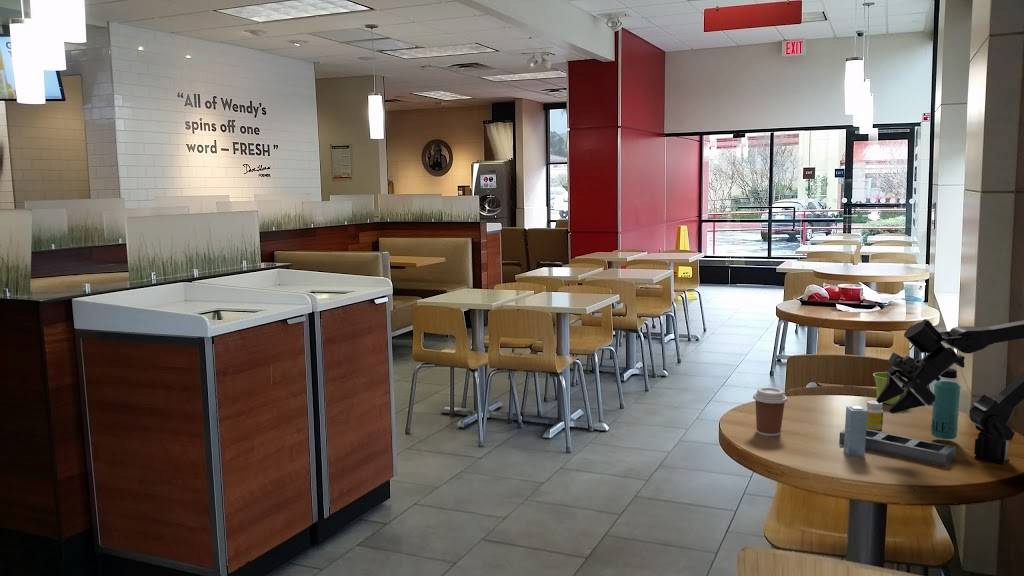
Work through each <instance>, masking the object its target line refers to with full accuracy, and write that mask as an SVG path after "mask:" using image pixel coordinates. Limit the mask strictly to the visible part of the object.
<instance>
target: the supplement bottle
mask: <svg viewBox="0 0 1024 576" xmlns="http://www.w3.org/2000/svg"><path fill="white" fill-rule="evenodd" d="M865 409H866V410H867V411H868V412H867V428H866V429H869V430H874V431H879V432H883V425H884V424H883V423H884V410H883V403H880V404H879V403H878V402H877V401H876V400H868V401H866V407H865Z"/></svg>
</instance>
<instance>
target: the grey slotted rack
mask: <svg viewBox="0 0 1024 576" xmlns="http://www.w3.org/2000/svg"><path fill="white" fill-rule="evenodd" d="M844 436H845V429H843V430H841V431H840V432H839V439H838V440H839V441H838V443H839V444H841V445H844ZM865 450H869V451H872V452H873V451H874V452H878V453H881V454H882V453H883V454H886V453H887V455H891V454H892V456H896V455H897V457H901V458H906V459H910V460H915V461H919V462H924V463H928V462H929V463H928V464H932V463H934V464H933V465H937V464H938V465H937V466H942V465H943V466H942V467H947V466H948V465H949V464H950V463H951V462H952V461H954V460H955V457H956V446H954V445H953V446H952V445H947V444H943V443H937V442H933V441H929V440H928V441H927V440H924V439H919V438H914V437H908V436H902V435H899V434H893V433H887V432H885V431H884V432H883V431H882V432H879V431H874V430H869V429H866V443H865ZM946 465H947V466H946Z"/></svg>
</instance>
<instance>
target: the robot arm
mask: <svg viewBox="0 0 1024 576" xmlns="http://www.w3.org/2000/svg"><path fill="white" fill-rule="evenodd" d="M903 336H904V338H905V339H907V341H908V342H909V343H910V344H911V345H912V347H914V348H915V349H916V350H917V351H918V352H919V353H920V354H924V353H926V355H925V356H924V357H922V358H921V359H920V358H914V357H911V356H909V355H905V356H902V355H901V354H898V353H896V352H892V353H891V355H890V357H889V359H888V360H887V362H886V363H887V364H888V365H890V367H889V368H888V369H886V371H885V372H886V373H888V374H889V375H888V374H886V376H887V383H886V385H885V387H884V389H883V390H882V392H881V394H880V395H879V397H878V398H877V397H876V400H875V401H877V402H878V403H879V404H880V403H882V402H885V401H887V400H889V399H892V398H894V397H896V396H898V395H900V397H899V399H898V401H897V402H896V403H895V404H892V406H891V407H890V408H889V410H888V412H890V414H892V415H893V414H896V413H900V412H904V411H907V410H911V409H915V408H919V407H925V406H929V407H930V406H931V405H932V404H933V402H934V401H935V395H934V392H932V390H931V389H929V387H928V386H930V385H931V384H932V383H933V382H934V381H936V382H937V381H939V380H942V377H940V375H941V374H943V373H944V372H945V371H946V370H947V369H949V368H952V366H954V365H957V366H958V367H960V368H961V369H963V368H965V359H966V357H965V356H964V355H962V354H958V353H956V351H954V350H957V351H958V352H961V353H963V354H973V353H976V352H980V351H981V350H984V349H986V348H987V347H989V346H991V345H993V344H998V343H1004V342H1009V341H1016V340H1021V339H1024V319H1023V320H1018V321H1011V322H1006V323H1000V324H996V325H990V326H969V325H968V326H955V327H952V328H951V329H950V330H947V331H938V330H937V329H936V328H935V326H934V325H933V323H932V322H931V321H930V320H929V319H925V318H924V319H923V320H921V321H920V322H916V323H915V324H913V325H910V326H909V327H908V328H907V329H906V330H905V332H904V334H903ZM944 344H946V345H948V346H947V347H945V345H944ZM901 387H902V388H901ZM1023 401H1024V371H1023V372H1022V373H1021V374H1019V375H1018V376H1017V377H1015V379H1014V380H1013V381H1011V382H1010V383H1009V384H1008V385H1007V386H1006V387H1005V388H1003V389H1002V390H1001V391H1000V392H998V393H997V394H995V395H991V396H989V395H987V394H983V395H981V397H980V398H979V399H978V400H976V401H975V402H973V403H971V405H972V407H971V408H970V409H969V419H970V421H971V422H972V423H973V424H974V426H975V430H977V431H979V433H978V434H977V435H978V436H977V437H976V438H975V439H974V452H973V454H974V457H973V458H974V459H976V460H980V461H986V462H990V463H996V464H1000V465H1004V464H1005V463H1006V462H1007V461H1008V460H1009V457H1010V456H1009V455H1008V454H1009V453H1008V451H1009V442H1010V441H1012V440H1013V438H1014V436H1015V432H1014V430H1013V429H1011V427H1010V426H1009V425H1008V422H1009V421H1011V417H1012V415H1013V412H1014V410H1015V408H1016V407H1018V406H1019V405H1020V404H1021V403H1022V402H1023ZM882 404H883V403H882Z"/></svg>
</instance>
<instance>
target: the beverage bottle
mask: <svg viewBox="0 0 1024 576" xmlns="http://www.w3.org/2000/svg"><path fill="white" fill-rule="evenodd" d="M939 377H940V378H943V379H941V380H939V381H936V382H935V383H934V387H933V388H934V389H933V390H934V391H933V394H934V395H935V401H934V402H933V403H932V404H931V405H932V411H931V425H930V431H929V432H930V433H931V436H933V437H934V438H937V439H942V440H956V438H957V437H958V430H959V407H960V405H959V404H960V398H961V397H960V395H961V394H960V393H961V387H962V386H960V384H959V383H958V382H957V381H954V380H950V379H957V378H958V370H957V369H954V368H952V367H950V368H949V369H947V370H946V371H945V372H944V373H943V374H941V375H940V376H939ZM944 378H945V379H944Z"/></svg>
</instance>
